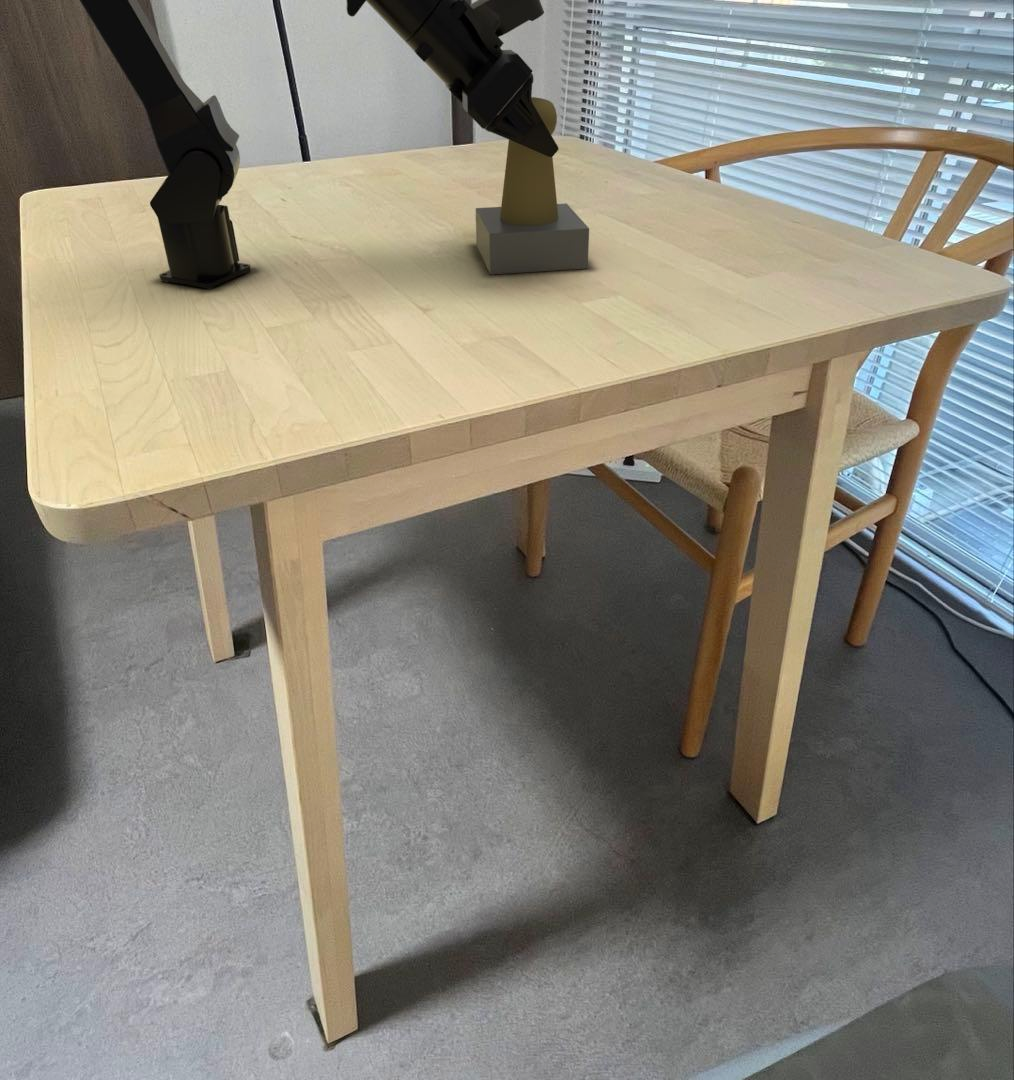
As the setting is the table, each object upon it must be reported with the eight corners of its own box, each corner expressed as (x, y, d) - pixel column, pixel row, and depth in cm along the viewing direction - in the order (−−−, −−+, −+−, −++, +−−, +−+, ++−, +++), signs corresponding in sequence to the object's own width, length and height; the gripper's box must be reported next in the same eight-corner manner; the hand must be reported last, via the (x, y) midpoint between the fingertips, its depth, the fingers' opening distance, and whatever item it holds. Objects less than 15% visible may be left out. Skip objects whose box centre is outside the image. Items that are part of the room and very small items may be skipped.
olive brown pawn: (516, 228, 85) (516, 105, 79) (489, 214, 90) (487, 96, 83) (569, 220, 88) (573, 100, 81) (540, 207, 92) (542, 92, 86)
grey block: (490, 274, 86) (489, 233, 84) (476, 246, 94) (475, 207, 92) (587, 268, 88) (589, 228, 85) (565, 240, 96) (567, 203, 93)
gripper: (505, -64, 67) (632, 90, 75) (473, -64, 82) (581, 65, 90) (411, 55, 71) (542, 190, 78) (396, 34, 86) (507, 149, 93)
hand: (545, 143), depth 85 cm, fingers open, 9 cm apart
